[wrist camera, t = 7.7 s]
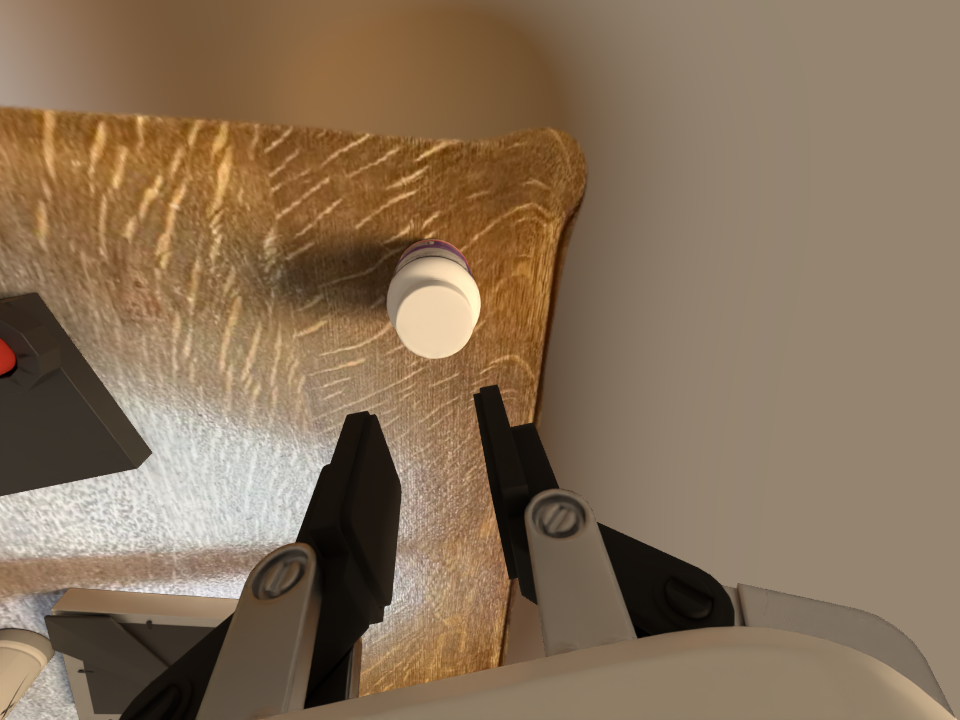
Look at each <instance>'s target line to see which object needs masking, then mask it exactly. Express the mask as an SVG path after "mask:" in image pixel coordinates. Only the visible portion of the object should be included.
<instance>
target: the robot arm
mask: <svg viewBox="0 0 960 720" xmlns="http://www.w3.org/2000/svg"><path fill="white" fill-rule="evenodd" d="M473 396H474V401H475V407H476V412H477V418H478V423H479V429H480V435H481V440H482V446H483V451H484V457H485V463H486V468H487V474H488V479H489V485H490V490H491V495H492V500H493V505H494V510H495V514H496V519H497V524H498V529H499V533H500V538H501V543H502V547H503V552H504V557H505V562H506V566H507V571H508V576H509V580H510V579H515V578H518V580H519V585H520V590H521V593H522V595H523V596H524V597H526V598H527V599H529V600H530V601H532V602H533V603H535V604H537V605H538V610H539V616H540V623H541V629H542V636H543V643H544V649H545V655H546V657H544V658H540V659H535V660H530V661H525V662H521V663H516V664H511V665H506V666H502V667H497V668H492V669H488V670H483V671H478V672H473V673H469V674H464V675H459V676H455V677H450V678H446V679H441V680H436V681H432V682H427V683H423V684H418V685H413V686H409V687H404V688H400V689H395V690H390V691H386V692H381V693H377V694H372V695H367V696H363V697H359V684H360V670H361V655H362V638H361V636H362V635H363V634H364V633H365V631H366V630H367V629H368V628H369V625H370V624H375V623H380V622H383V616H384V607H385V606H388V605H390V604H391V601H392V592H393V581H394V570H395V560H396V549H397V538H398V527H399V516H400V505H401V494H402V491H401V484H400V480H399V477H398V474H397V472H396V469H395V466H394V463H393V460H392V458H391V455H390V452H389V449H388V446H387V443H386V441H385V438H384V435H383V432H382V429H381V427H380V424H379V421H378V418H377V416H376V415H375V414H373V415H370V414H369V412H368V411H363V412H358V413H353V414H349V415H347V416H346V419H345V422H344V425H343V428H342V431H341V434H340V436H339V439H338V442H337V445H336V448H335V451H334V454H333V457H332V460H331V463H330V464H328V465H325V466H324V467H323V468H322V470H321V473H320V476H319V478H318V481H317V484H316V487H315V489H314V492H313V495H312V498H311V501H310V503H309V506H308V509H307V512H306V514H305V517H304V520H303V523H302V525H301V528H300V531H299V534H298V537H297V539H296V542H295V543H291V544H287V545H284V546H282V547H279V548H277V549H276V550H274V551H273V552H271V553H269V554H268V555H267V556H265V557H264V558H263V559H262V560H261V561H260V562H259V563H258V564H257V565H256V566H255V568H254V569H253V570H252V571H251V573H250V574H249V576H248V578H247V580H246V582H245V585H244V587H243V590H242V593H241V596H240V598H239V601H238V604H237V607H236V609H235V612H233V613H232V614H231V615H230V616H229V617H228V618H226V619H225V620H224V621H223V622H222V623H220V624H219V625H218V626H217V627H216V628H215V629H213V630H212V631H211V632H210V633H209V634H208V635H206V636H205V637H204V638H203V639H202V640H201V641H199V642H198V643H197V644H196V645H195V646H193V647H192V648H191V649H190V650H189V651H188V652H186V653H185V654H184V655H183V656H182V657H181V658H179V659H178V660H177V661H176V662H175V663H174V664H172V665H171V666H170V667H169V668H168V669H166V670H165V671H164V672H163V673H162V674H161V675H159V676H158V677H157V678H156V679H155V680H154V681H152V682H151V683H150V684H149V685H148V686H147V687H146V688H145V689H144V690H143V691H142V692H140V693H139V694H138V695H137V696H136V697H135V698H134V699H133V701H132V702H131V703H130V704H129V706H128V707H127V708H126V710H125V711H124V712H123V713H122V715H121V716H120V718H119V720H957V719H956V718H955V716H954V714H953V712H952V710H951V708H950V706H949V704H948V702H947V700H946V698H945V696H944V694H943V692H942V690H941V688H940V686H939V684H938V682H937V681H936V679H935V677H934V675H933V673H932V671H931V669H930V667H929V665H928V663H927V661H926V659H925V657H924V656H923V655H922V653H921V652H920V651H919V649H918V648H917V646H916V645H915V644H914V642H913V641H912V640H911V639H909V638H908V637H907V636H906V635H905V634H904V633H903V632H901V631H900V630H899V629H898V628H897V627H895V626H894V625H892V624H890V623H889V622H887V621H885V620H884V619H882V618H880V617H879V616H877V615H874V614H871V613H868V612H865V611H862V610H859V609H855V608H851V607H846V606H841V605H836V604H832V603H828V602H823V601H818V600H814V599H809V598H804V597H800V596H795V595H791V594H786V593H781V592H777V591H772V590H767V589H763V588H758V587H753V586H749V585H744V584H739V583H738V585H737V588H732V587H728V586H723V585H721V584H720V583H719V582H718V581H717V580H715V579H714V578H713V577H712V576H711V575H710V574H708V573H706V572H704V571H703V570H701V569H699V568H698V567H695V566H693V565H691V564H689V563H686V562H684V561H682V560H680V559H678V558H676V557H673V556H671V555H669V554H667V553H665V552H662V551H660V550H658V549H656V548H653V547H651V546H649V545H647V544H645V543H642V542H640V541H638V540H636V539H634V538H631V537H629V536H627V535H624V534H623V533H620V532H618V531H616V530H614V529H611V528H609V527H607V526H605V525H603V524H600V523H598V522H596V519H595V516H594V513H593V510H592V508H591V507H590V505H589V503H588V502H587V501H586V500H585V499H584V498H583V497H582V496H581V495H579V494H577V493H575V492H573V491H570V490H565V489H559V486H558V484H557V481H556V479H555V476H554V473H553V471H552V468H551V466H550V463H549V461H548V458H547V456H546V453H545V451H544V448H543V445H542V443H541V440H540V438H539V435H538V433H537V430H536V428H535V425H534V424H533V423H528V424H524V425H519V426H514V427H510V424H509V421H508V418H507V414H506V411H505V408H504V404H503V401H502V397H501V394H500V391H499V387H498V385H492V386H487V387H482V388H480V393H477V394H473ZM109 720H112V719H109Z"/></svg>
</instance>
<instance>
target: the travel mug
mask: <svg viewBox="0 0 960 720" xmlns="http://www.w3.org/2000/svg"><path fill="white" fill-rule="evenodd" d="M54 653H55V650H53V649H52V645H51V641H50V640H49V639H47V638H46V637H44V636H42V635H40V634H38V633H35V632H31V631H27V630H20V629H5V630H0V720H5V718H6V717H7V716H8V714H9V713H10V712H11V710H12V709H13V708H14V707H15V705H16V704H17V703H18V701H19V700H20V699H21V697H22V696H23V695H24V694H25V692H26V691H27V690H28V688H29V687H30V686H31V684H32V683H33V682H34V681H35V679H36V678H37V677H38V675H39V674H40V672H41V671H42V670H43V669H44V668H45V666H46V665H47V664H48V662H49V661H50V660H51V658H52V657H53V656H54Z"/></svg>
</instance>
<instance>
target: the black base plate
mask: <svg viewBox="0 0 960 720" xmlns="http://www.w3.org/2000/svg"><path fill="white" fill-rule="evenodd" d="M0 339H2V340H4V341H5V342H6V343H7V344H8V346H9V347H10V348H11V349H12V351H13V352H14V353H15V355H16V364H15V366H14V367H13V368H12V369H11V370H10V371H8V372H6V373H4V374H2V375H0V496H4V495H9V494H14V493H19V492H24V491H29V490H34V489H39V488H43V487H48V486H53V485H58V484H63V483H68V482H73V481H78V480H83V479H88V478H93V477H98V476H103V475H107V474H112V473H117V472H122V471H127V470H132V469H137V468H138V467H139V466H140V465H141V464H142V463H143V462H144V461H145V460H146V459H147V458H148V457H149V456H150V455H151V454H152V451H151V450H150V449H149V447H148V446H147V445H146V443H145V442H144V440H143V439H142V438H141V436H140V435H139V433H138V432H137V431H136V429H135V428H134V426H133V425H132V424H131V422H130V421H129V420H128V418H127V417H126V415H125V414H124V413H123V411H122V410H121V408H120V407H119V406H118V404H117V403H116V402H115V400H114V399H113V397H112V396H111V395H110V393H109V392H108V390H107V389H106V388H105V386H104V385H103V383H102V382H101V381H100V379H99V378H98V377H97V375H96V374H95V372H94V371H93V370H92V368H91V367H90V365H89V364H88V363H87V361H86V360H85V359H84V357H83V356H82V354H81V353H80V352H79V350H78V349H77V347H76V346H75V345H74V343H73V342H72V340H71V339H70V338H69V336H68V335H67V334H66V332H65V331H64V329H63V328H62V327H61V325H60V324H59V322H58V321H57V320H56V318H55V317H54V316H53V314H52V313H51V311H50V310H49V309H48V307H47V306H46V304H45V303H44V302H43V300H42V299H41V297H40V296H39V295H38V293H32V294H27V295H22V296H17V297H12V298H6V299H1V300H0Z"/></svg>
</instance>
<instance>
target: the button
mask: <svg viewBox="0 0 960 720" xmlns="http://www.w3.org/2000/svg"><path fill="white" fill-rule="evenodd" d="M15 364H16V355H15V353H14V352H13V351H12V349H11V348H10V347H9V346H8V344H7V343H6V342H5V341H4V340H2V339H0V375H2V374H4V373H6V372H8V371H10V370H11V369H12V368H13V367H14V366H15Z"/></svg>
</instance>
